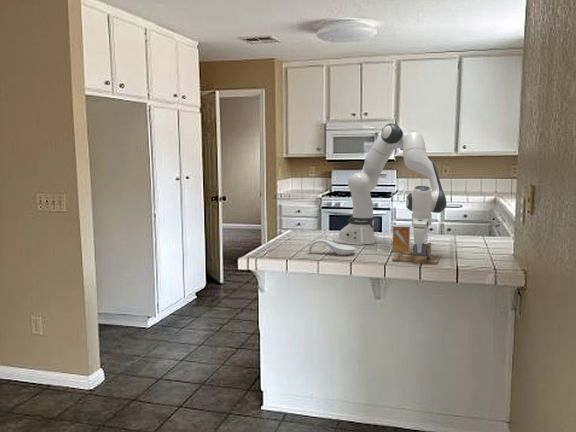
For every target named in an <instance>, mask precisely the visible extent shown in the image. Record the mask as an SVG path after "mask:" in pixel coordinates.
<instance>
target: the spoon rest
mask: <svg viewBox="0 0 576 432" xmlns="http://www.w3.org/2000/svg"><path fill="white" fill-rule="evenodd" d="M318 243H322V244H325V245H326V246H327V247H329V249H330V250H332V251H333V252H334V254H336V255H337V256H350V255H352V254H354V252H355V251H356V249H357V248H356V247H355V246H352V245H348V244H347V245H345V244H343V243H336V242H335V241H334V242H333V241H331V240H327V239H317V240H314V241H313V242H311V244H310V245H309V246H308V248H307V255H308V254H309V255H310V254H312V248H313V246H314V245H316V244H318Z"/></svg>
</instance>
